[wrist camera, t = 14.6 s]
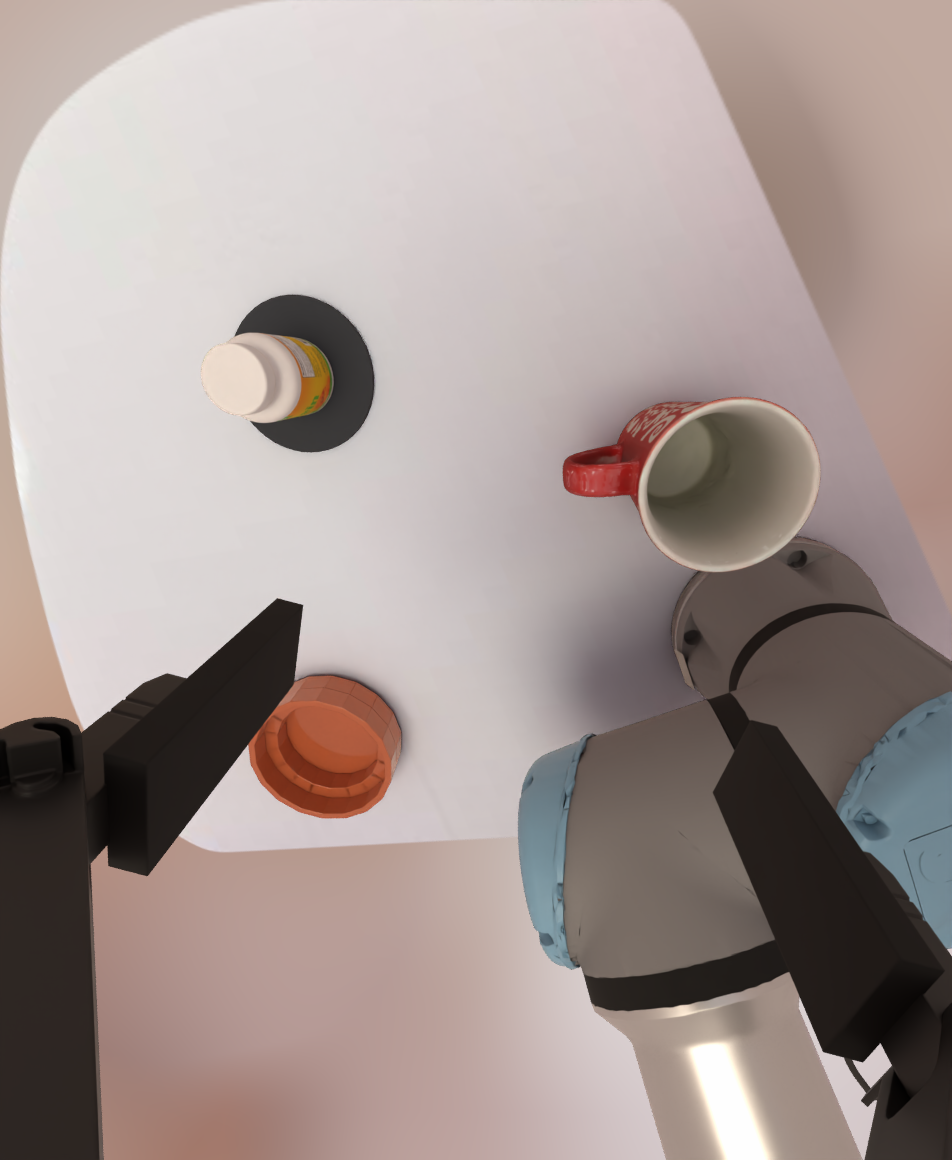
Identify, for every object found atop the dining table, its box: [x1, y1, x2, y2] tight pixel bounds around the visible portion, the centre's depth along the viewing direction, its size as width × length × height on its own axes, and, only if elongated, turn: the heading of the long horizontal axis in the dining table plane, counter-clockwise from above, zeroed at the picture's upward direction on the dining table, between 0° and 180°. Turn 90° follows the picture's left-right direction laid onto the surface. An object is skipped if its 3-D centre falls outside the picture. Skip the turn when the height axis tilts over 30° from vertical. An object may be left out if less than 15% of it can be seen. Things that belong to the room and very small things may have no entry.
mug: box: [563, 397, 820, 572], centre depth 34 cm, size 13×9×14 cm
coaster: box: [235, 295, 374, 452], centre depth 40 cm, size 11×11×1 cm
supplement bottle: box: [201, 333, 334, 423], centre depth 35 cm, size 5×5×10 cm
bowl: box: [248, 676, 401, 818], centre depth 50 cm, size 13×13×4 cm
